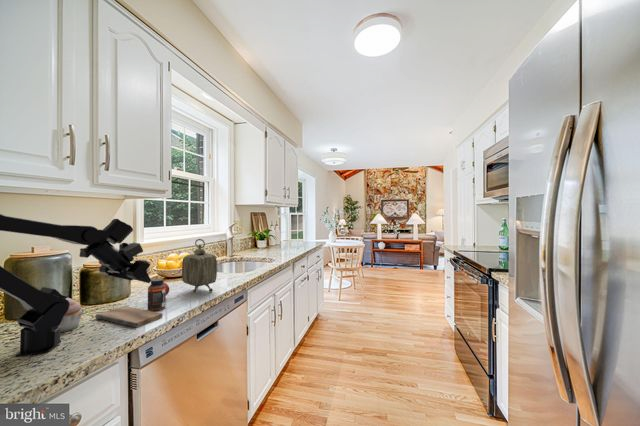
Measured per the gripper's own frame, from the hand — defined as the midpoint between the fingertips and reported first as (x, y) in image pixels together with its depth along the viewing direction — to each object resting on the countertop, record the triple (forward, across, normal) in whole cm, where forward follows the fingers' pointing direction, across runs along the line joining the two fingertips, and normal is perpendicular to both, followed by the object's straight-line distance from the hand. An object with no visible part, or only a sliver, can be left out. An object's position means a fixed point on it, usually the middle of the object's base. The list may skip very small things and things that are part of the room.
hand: (141, 280), depth 96 cm
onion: (+20, +9, -2) cm, 22 cm away
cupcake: (-4, +10, +21) cm, 23 cm away
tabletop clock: (+30, +3, -12) cm, 32 cm away
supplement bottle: (+13, 0, +5) cm, 14 cm away
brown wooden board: (+6, 0, +11) cm, 13 cm away
